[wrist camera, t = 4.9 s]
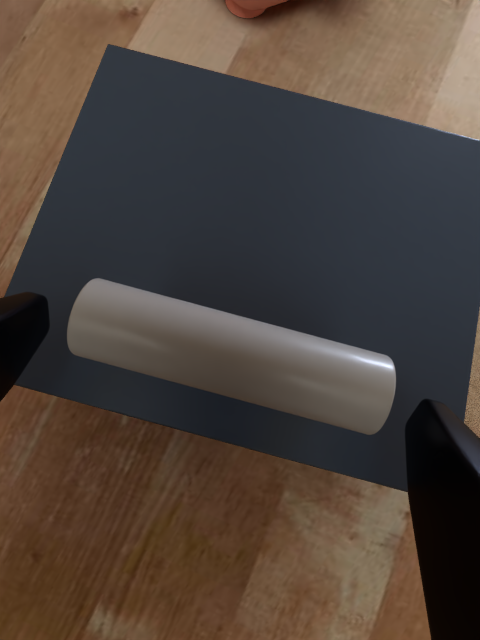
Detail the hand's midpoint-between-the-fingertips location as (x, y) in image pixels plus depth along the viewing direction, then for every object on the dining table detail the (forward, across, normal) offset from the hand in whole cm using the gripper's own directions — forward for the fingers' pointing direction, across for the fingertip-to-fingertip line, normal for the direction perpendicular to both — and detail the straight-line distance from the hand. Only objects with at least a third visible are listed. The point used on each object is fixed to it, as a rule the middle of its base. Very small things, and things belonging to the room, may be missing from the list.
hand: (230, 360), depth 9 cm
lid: (+4, 0, -1) cm, 5 cm away
